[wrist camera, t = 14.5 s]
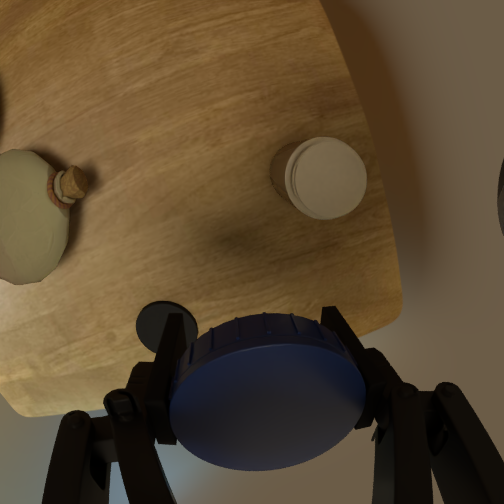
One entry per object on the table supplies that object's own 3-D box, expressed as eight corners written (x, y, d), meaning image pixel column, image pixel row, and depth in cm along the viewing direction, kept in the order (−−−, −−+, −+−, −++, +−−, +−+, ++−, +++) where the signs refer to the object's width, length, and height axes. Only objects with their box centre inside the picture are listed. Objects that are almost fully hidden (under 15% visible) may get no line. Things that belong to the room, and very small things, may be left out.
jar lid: (242, 272, 10) (246, 299, 8) (382, 359, 12) (402, 387, 10) (144, 402, 12) (135, 435, 10) (277, 454, 13) (283, 483, 12)
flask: (-14, 180, 29) (83, 115, 29) (25, 282, 33) (126, 236, 34) (-57, 189, 20) (45, 103, 20) (-10, 311, 25) (100, 261, 25)
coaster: (208, 317, 37) (207, 321, 36) (183, 361, 39) (182, 365, 38) (149, 290, 35) (148, 292, 35) (129, 337, 37) (128, 340, 36)
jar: (341, 162, 33) (386, 166, 23) (311, 214, 34) (345, 239, 24) (289, 129, 31) (316, 118, 21) (258, 184, 33) (271, 196, 23)
